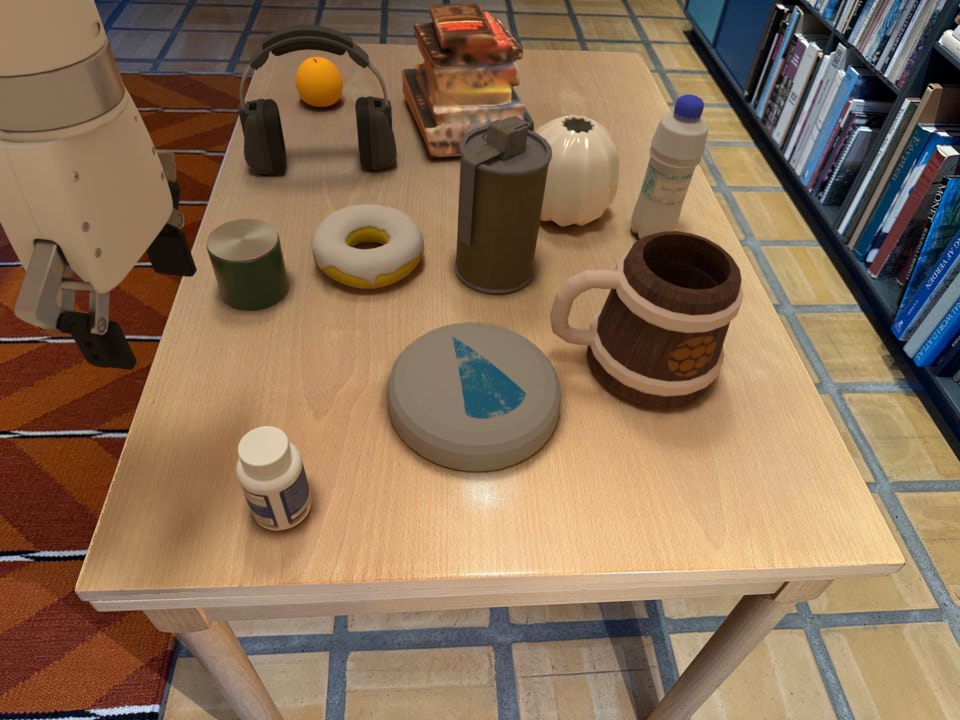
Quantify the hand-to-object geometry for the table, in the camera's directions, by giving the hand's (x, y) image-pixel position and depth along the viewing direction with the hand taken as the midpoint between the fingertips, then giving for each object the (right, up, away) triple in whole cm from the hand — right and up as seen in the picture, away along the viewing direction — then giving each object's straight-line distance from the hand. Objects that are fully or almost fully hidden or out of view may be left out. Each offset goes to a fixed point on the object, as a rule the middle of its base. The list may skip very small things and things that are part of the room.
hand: (147, 315), depth 47 cm
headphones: (0, +27, +52) cm, 59 cm away
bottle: (+48, +15, +46) cm, 68 cm away
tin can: (-4, +6, +32) cm, 33 cm away
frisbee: (+23, -8, +23) cm, 34 cm away
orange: (-3, +42, +66) cm, 78 cm away
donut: (+10, +10, +38) cm, 40 cm away
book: (+22, +37, +63) cm, 76 cm away
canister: (+26, +9, +38) cm, 47 cm away
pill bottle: (+6, -17, +13) cm, 22 cm away
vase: (+36, +19, +48) cm, 63 cm away
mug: (+41, -4, +28) cm, 50 cm away
